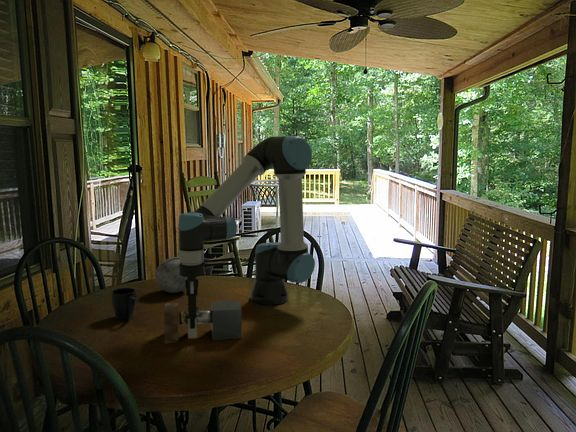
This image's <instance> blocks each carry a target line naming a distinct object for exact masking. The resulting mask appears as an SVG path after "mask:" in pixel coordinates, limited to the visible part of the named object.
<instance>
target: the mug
mask: <svg viewBox="0 0 576 432" xmlns="http://www.w3.org/2000/svg"><path fill="white" fill-rule="evenodd" d="M110 295H111V297H110V299H111V300H110V301H111V307H112V310H113V314H114V316H115V319H117V320H121V321H122V320H123V321H124V320H130V319H132V318H133V316H134V312H135V309H136V304H137V290H136V289H135V288H133V287H120V288H117V289H113V290H112V291H111V293H110Z"/></svg>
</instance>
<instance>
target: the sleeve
mask: <svg viewBox="0 0 576 432" xmlns="http://www.w3.org/2000/svg"><path fill="white" fill-rule="evenodd" d="M210 305H211V306H210V310H212V323H210V326H211V328H210V329H211V337H212V341H221V340H232V339H233V340H236V339H242V306H241V303H240V301H239V300H238V299H237V300H223V301H222V300H219V301H218V300H217V301H216V300H215V301H210Z"/></svg>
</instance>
